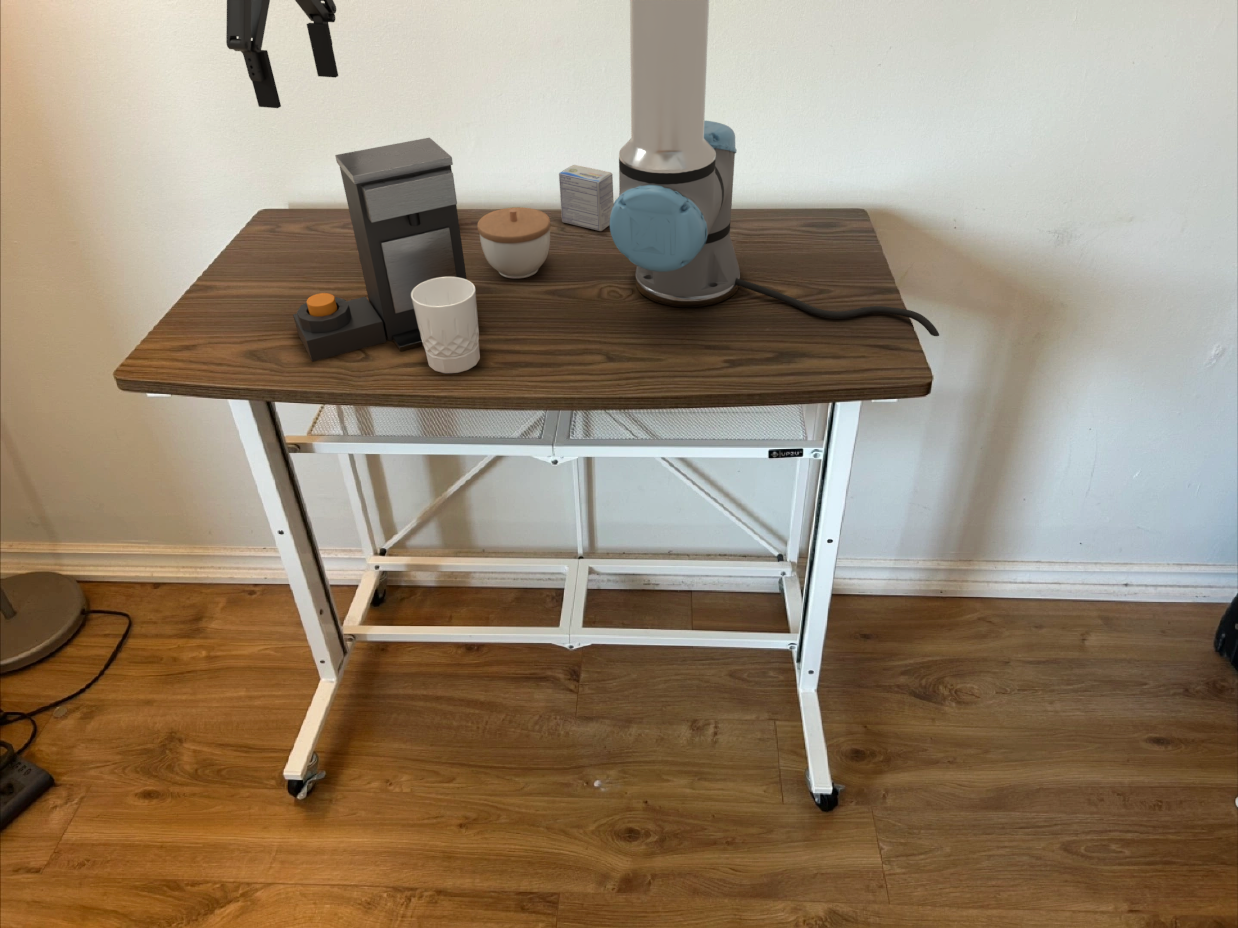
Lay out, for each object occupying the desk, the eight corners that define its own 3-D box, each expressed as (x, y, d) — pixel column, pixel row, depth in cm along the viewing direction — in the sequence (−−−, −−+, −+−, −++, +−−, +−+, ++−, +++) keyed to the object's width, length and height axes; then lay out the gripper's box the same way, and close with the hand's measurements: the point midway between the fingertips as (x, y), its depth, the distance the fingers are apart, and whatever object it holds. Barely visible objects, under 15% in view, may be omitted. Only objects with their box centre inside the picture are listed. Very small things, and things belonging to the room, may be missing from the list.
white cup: (473, 379, 112) (462, 309, 106) (414, 373, 114) (400, 303, 107) (492, 347, 118) (483, 278, 112) (436, 342, 120) (424, 274, 113)
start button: (333, 302, 119) (330, 290, 118) (340, 313, 117) (337, 301, 116) (306, 308, 118) (303, 296, 117) (313, 320, 115) (310, 308, 114)
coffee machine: (370, 315, 126) (334, 154, 111) (453, 294, 130) (429, 137, 116) (395, 353, 117) (360, 185, 103) (482, 329, 122) (461, 164, 108)
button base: (370, 316, 125) (363, 284, 122) (386, 342, 120) (379, 308, 117) (298, 334, 122) (289, 302, 119) (312, 362, 116) (303, 328, 113)
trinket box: (566, 263, 137) (563, 204, 131) (526, 291, 130) (521, 231, 124) (510, 248, 142) (504, 191, 136) (469, 275, 135) (460, 216, 129)
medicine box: (615, 222, 149) (613, 171, 143) (600, 232, 146) (598, 181, 140) (576, 213, 152) (573, 163, 147) (561, 223, 149) (557, 172, 144)
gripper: (288, -116, 112) (326, 63, 125) (154, -88, 94) (215, 118, 107) (340, -115, 110) (373, 66, 124) (215, -87, 92) (269, 123, 105)
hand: (300, 91), depth 115 cm, fingers open, 13 cm apart
